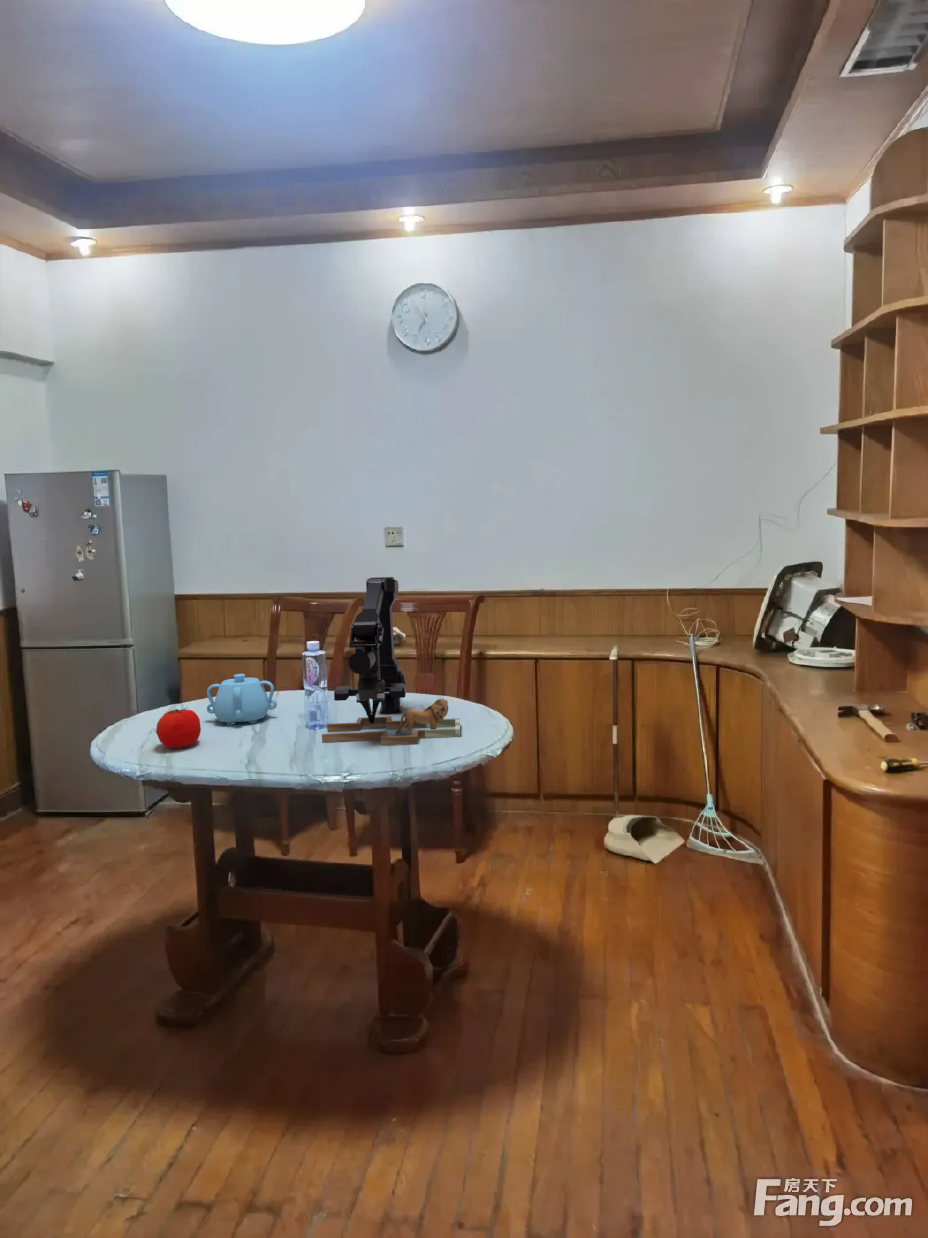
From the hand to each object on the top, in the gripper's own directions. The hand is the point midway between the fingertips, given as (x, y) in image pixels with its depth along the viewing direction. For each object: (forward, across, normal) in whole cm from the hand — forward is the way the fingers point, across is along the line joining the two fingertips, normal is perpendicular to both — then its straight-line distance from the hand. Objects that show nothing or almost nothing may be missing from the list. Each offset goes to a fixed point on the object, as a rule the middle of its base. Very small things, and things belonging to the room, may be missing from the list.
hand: (372, 723), depth 249 cm
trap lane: (+3, +5, 0) cm, 6 cm away
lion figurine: (+3, +14, 0) cm, 14 cm away
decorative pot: (+3, -40, +22) cm, 46 cm away
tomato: (+3, -51, -3) cm, 51 cm away
